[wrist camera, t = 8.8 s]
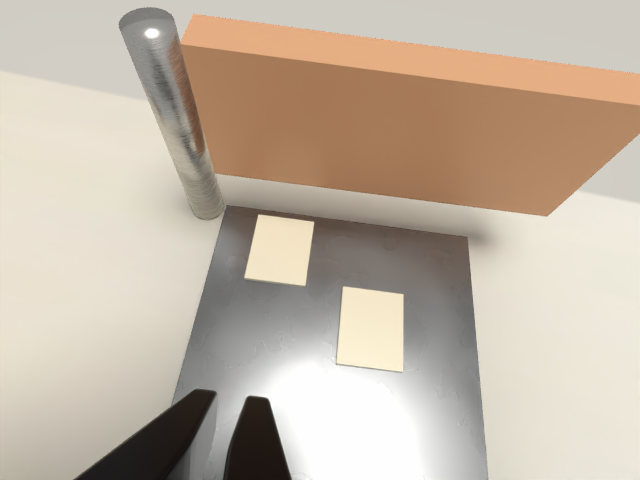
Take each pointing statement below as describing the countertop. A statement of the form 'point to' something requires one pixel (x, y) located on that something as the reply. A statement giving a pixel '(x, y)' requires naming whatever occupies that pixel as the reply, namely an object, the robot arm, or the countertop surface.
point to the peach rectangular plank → (403, 115)
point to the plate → (322, 317)
